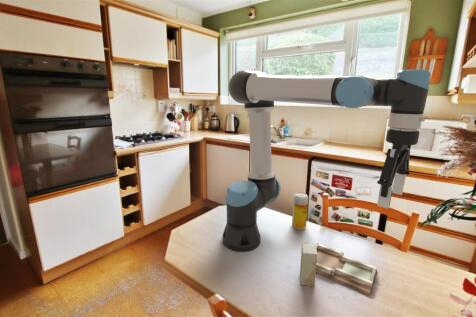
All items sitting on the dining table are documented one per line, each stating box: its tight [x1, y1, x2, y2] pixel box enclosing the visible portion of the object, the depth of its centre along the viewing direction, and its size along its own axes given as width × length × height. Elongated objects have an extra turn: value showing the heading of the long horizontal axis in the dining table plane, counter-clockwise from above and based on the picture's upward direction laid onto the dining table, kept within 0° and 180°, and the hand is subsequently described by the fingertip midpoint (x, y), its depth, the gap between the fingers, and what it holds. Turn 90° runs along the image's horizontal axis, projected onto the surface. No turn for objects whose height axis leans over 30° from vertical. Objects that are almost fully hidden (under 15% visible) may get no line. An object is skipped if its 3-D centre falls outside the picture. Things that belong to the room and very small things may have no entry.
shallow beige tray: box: [315, 243, 378, 296], centre depth 83 cm, size 20×13×2 cm, turn 54°
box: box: [299, 243, 317, 287], centre depth 77 cm, size 5×4×11 cm
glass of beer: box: [291, 192, 309, 230], centre depth 107 cm, size 6×6×15 cm
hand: (390, 199), depth 74 cm, fingers open, 13 cm apart
